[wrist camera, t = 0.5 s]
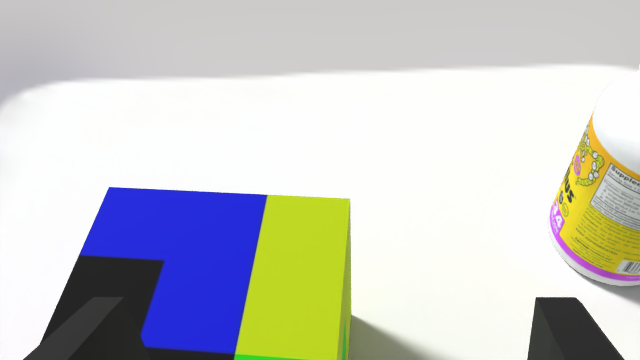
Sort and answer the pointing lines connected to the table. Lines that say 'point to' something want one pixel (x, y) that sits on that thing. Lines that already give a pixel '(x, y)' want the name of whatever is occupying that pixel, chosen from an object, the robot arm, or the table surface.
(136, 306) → the puzzle toy
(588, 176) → the supplement bottle
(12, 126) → the table surface
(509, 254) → the table surface
